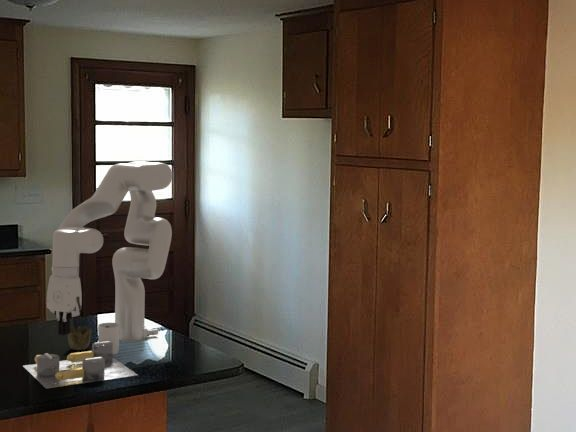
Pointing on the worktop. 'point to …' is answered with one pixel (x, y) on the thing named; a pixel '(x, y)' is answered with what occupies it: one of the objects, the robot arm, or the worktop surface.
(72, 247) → the robot arm
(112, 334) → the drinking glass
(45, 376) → the knob
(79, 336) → the cup
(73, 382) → the plate
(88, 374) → the knob left
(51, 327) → the worktop surface
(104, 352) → the knob
